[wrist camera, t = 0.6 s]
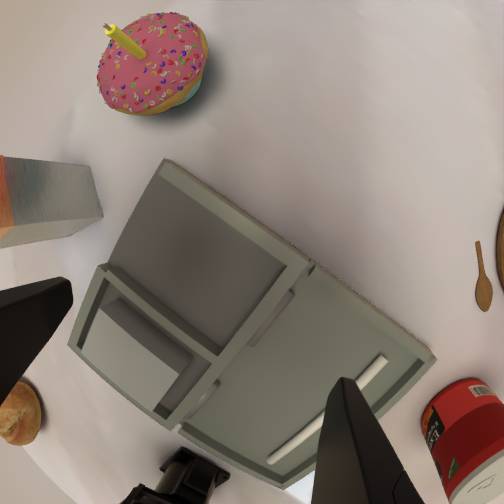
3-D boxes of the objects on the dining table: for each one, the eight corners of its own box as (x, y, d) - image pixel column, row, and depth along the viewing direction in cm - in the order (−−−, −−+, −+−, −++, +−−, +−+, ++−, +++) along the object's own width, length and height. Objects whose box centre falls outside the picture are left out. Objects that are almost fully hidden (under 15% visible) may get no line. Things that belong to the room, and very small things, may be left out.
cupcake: (245, 71, 20) (194, -25, 9) (172, 150, 22) (67, 112, 11) (177, 28, 21) (108, -49, 9) (114, 97, 22) (18, 53, 11)
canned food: (411, 404, 22) (446, 490, 11) (482, 360, 20) (541, 425, 9) (426, 447, 22) (453, 522, 11) (489, 409, 20) (532, 472, 10)
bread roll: (60, 414, 30) (26, 443, 23) (38, 438, 34) (12, 460, 26) (19, 360, 30) (-19, 382, 23) (4, 395, 34) (-24, 414, 26)
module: (104, 217, 24) (-27, 231, 11) (68, 237, 25) (-49, 259, 12) (90, 165, 24) (-35, 152, 10) (56, 189, 25) (-58, 191, 12)
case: (285, 476, 25) (281, 503, 21) (81, 336, 27) (57, 350, 23) (429, 348, 21) (446, 371, 17) (169, 159, 22) (144, 152, 18)
